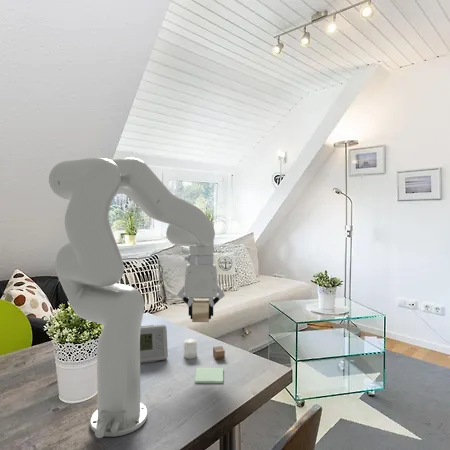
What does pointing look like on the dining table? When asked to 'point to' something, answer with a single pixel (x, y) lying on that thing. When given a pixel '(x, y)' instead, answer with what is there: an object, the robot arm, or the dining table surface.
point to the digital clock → (153, 343)
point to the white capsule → (190, 348)
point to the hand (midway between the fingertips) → (201, 317)
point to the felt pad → (209, 375)
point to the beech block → (200, 310)
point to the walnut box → (218, 353)
